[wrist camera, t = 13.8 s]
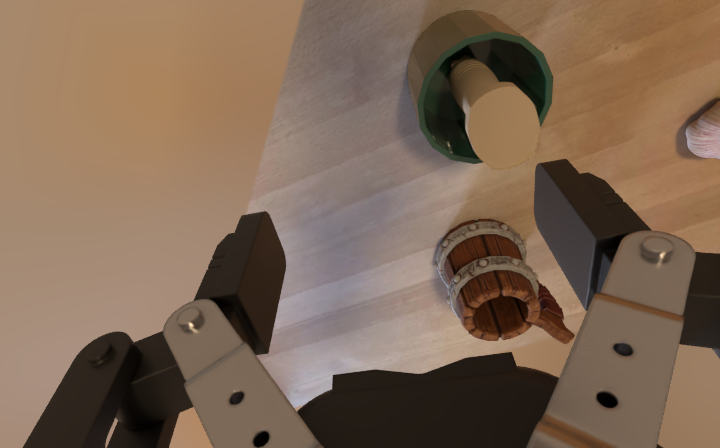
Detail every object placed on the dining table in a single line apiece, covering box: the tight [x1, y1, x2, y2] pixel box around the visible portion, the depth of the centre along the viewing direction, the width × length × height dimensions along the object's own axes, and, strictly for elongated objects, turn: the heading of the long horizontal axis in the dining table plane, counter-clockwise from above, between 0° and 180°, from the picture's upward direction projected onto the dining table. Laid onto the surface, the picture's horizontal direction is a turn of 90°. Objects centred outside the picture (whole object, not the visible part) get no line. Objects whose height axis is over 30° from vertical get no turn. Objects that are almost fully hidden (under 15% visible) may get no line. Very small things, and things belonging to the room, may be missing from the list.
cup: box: [407, 10, 553, 164], centre depth 40 cm, size 11×11×10 cm
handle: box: [448, 55, 540, 170], centre depth 37 cm, size 5×6×15 cm
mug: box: [435, 219, 574, 344], centre depth 52 cm, size 12×14×15 cm
